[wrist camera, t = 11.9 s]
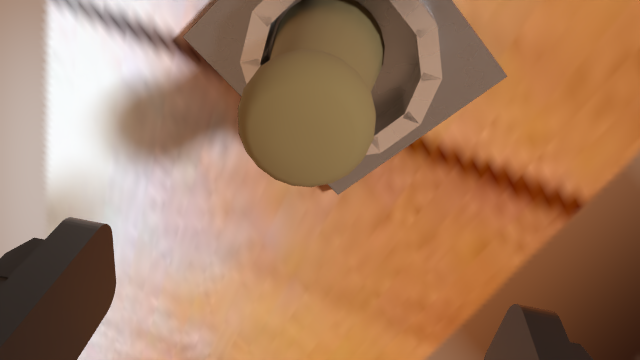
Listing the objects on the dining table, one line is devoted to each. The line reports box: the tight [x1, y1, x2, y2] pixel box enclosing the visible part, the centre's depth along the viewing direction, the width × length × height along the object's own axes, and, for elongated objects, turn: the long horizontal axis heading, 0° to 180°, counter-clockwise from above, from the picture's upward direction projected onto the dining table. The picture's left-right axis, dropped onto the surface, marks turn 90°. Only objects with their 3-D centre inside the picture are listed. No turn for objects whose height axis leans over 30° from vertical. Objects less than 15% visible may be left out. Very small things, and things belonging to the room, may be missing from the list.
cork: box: [238, 0, 385, 187], centre depth 22 cm, size 6×6×11 cm
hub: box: [183, 0, 507, 194], centre depth 26 cm, size 13×12×3 cm
